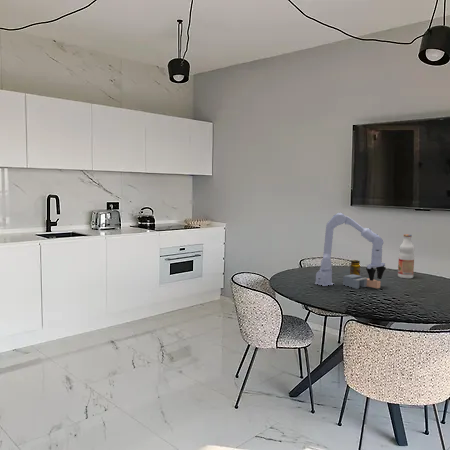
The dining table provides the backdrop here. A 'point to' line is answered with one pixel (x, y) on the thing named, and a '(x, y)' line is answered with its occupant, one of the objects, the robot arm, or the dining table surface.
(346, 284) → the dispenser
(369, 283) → the peach rectangular block
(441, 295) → the dining table surface
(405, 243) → the fruit juice
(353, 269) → the condiment
